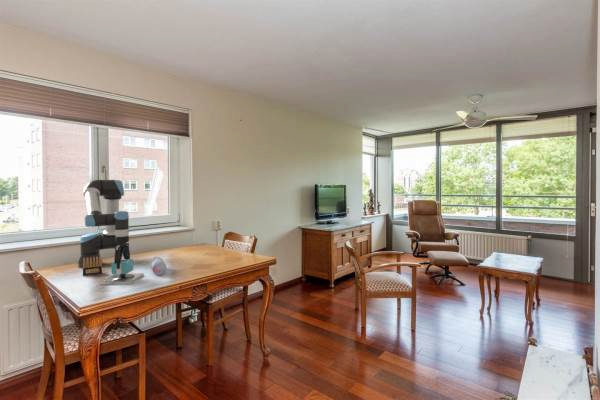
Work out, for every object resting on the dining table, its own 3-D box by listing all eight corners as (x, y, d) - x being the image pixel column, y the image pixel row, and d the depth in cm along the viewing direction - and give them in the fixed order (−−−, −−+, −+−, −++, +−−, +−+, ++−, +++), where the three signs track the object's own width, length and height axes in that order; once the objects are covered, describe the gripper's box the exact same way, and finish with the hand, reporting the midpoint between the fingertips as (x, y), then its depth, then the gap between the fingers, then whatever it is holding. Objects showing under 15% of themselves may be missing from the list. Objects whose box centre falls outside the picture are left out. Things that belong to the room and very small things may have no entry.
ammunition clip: (102, 273, 208) (101, 255, 208) (102, 273, 207) (101, 256, 206) (82, 275, 202) (82, 257, 202) (82, 276, 201) (82, 257, 200)
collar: (118, 270, 197) (118, 259, 197) (133, 269, 198) (133, 259, 198) (111, 274, 188) (111, 262, 188) (127, 273, 189) (126, 262, 189)
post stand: (114, 276, 201) (114, 260, 201) (143, 275, 204) (143, 259, 203) (99, 284, 184) (99, 267, 183) (131, 283, 186) (131, 266, 185)
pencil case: (150, 269, 218) (149, 256, 218) (163, 267, 223) (163, 254, 222) (152, 277, 200) (152, 262, 200) (166, 275, 205) (166, 261, 204)
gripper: (120, 238, 182) (121, 276, 183) (135, 233, 204) (136, 267, 204) (106, 238, 181) (107, 276, 182) (123, 233, 203) (124, 267, 204)
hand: (122, 271), depth 193 cm, fingers closed on collar, 9 cm apart
